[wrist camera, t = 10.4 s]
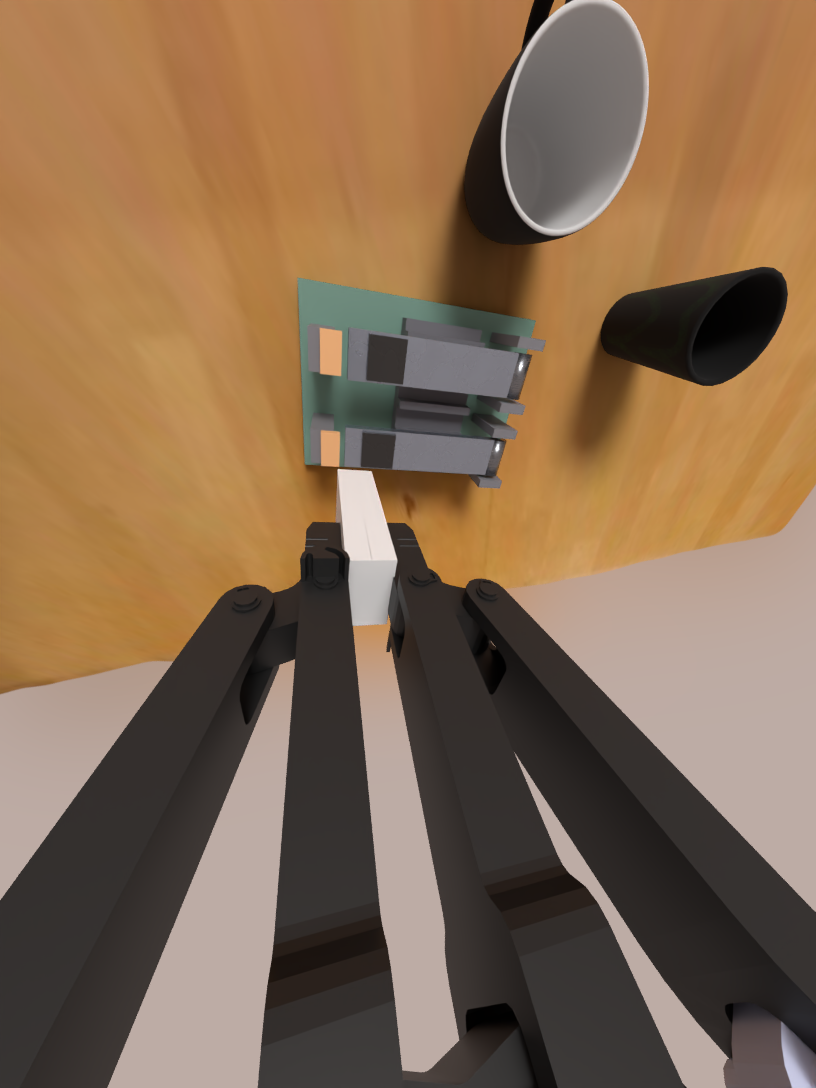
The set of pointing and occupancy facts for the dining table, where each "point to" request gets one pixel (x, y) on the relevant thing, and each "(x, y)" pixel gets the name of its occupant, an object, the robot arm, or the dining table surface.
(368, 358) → the strap near
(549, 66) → the mug
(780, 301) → the cup
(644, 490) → the dining table surface
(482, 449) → the strap far
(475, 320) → the socket board
